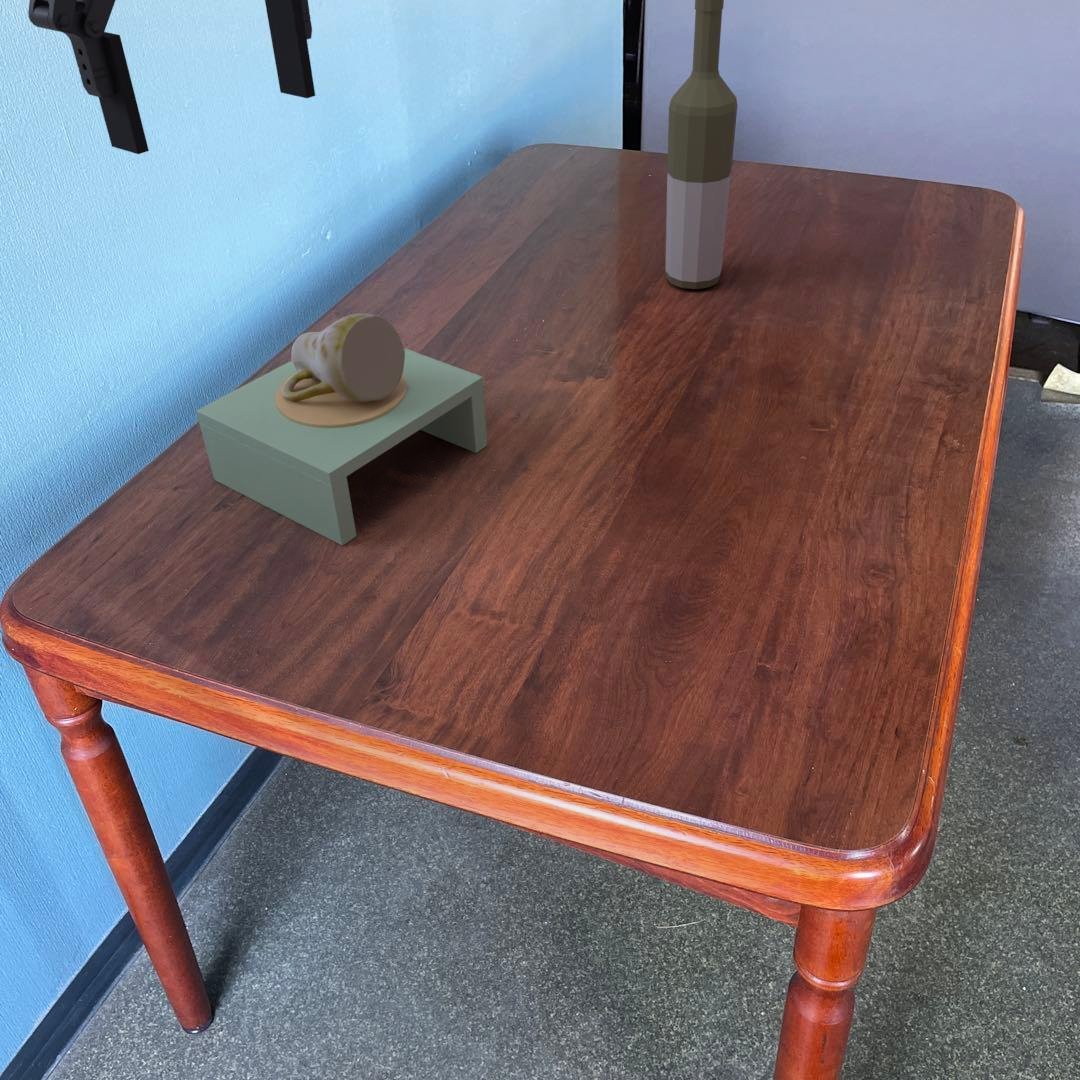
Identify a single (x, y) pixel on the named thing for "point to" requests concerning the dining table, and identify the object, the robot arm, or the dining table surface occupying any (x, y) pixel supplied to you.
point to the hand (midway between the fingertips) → (219, 120)
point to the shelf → (331, 437)
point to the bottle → (700, 160)
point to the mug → (349, 359)
